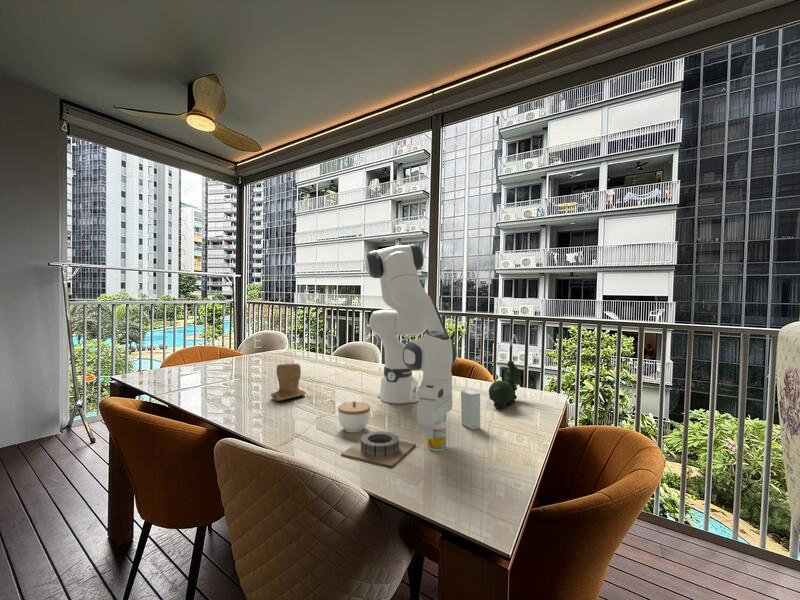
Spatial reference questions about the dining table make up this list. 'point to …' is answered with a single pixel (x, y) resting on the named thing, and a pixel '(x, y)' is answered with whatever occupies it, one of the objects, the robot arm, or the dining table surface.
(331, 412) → the dining table surface
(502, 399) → the toy figurine
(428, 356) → the robot arm
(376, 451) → the grey ring on slab
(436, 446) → the supplement bottle
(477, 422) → the skincare box
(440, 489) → the dining table surface
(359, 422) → the lidded jar
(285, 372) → the brown flared stand
